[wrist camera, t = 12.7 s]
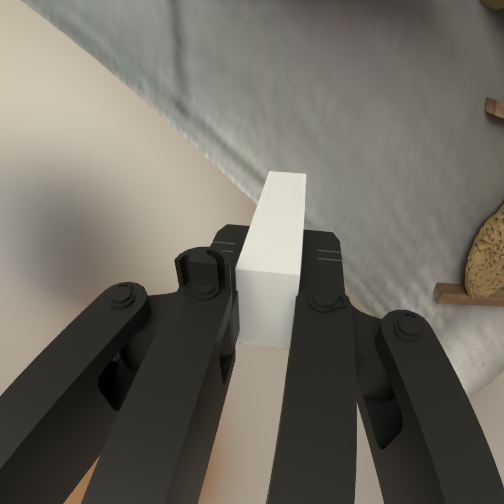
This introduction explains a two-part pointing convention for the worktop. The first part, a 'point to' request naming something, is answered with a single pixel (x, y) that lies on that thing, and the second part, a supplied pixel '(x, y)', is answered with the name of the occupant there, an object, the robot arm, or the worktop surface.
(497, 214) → the sponge
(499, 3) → the olive waisted cylinder
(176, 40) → the worktop surface
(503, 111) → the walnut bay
